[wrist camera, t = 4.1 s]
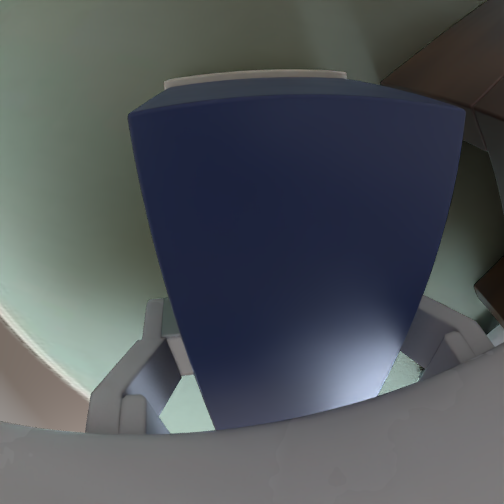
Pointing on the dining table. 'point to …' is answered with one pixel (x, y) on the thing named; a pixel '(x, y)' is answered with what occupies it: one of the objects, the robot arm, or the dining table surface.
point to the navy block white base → (293, 230)
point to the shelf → (469, 100)
